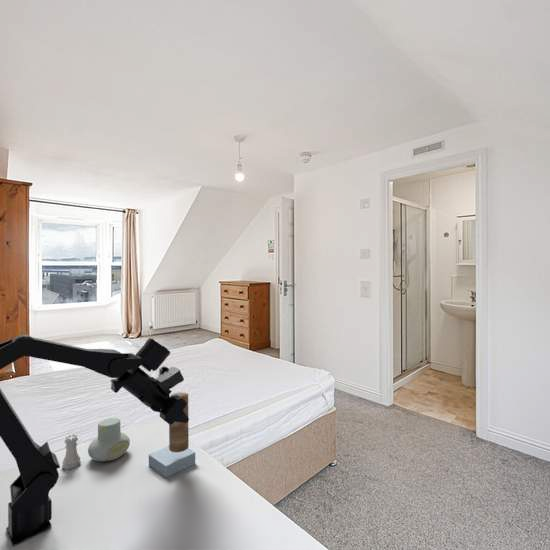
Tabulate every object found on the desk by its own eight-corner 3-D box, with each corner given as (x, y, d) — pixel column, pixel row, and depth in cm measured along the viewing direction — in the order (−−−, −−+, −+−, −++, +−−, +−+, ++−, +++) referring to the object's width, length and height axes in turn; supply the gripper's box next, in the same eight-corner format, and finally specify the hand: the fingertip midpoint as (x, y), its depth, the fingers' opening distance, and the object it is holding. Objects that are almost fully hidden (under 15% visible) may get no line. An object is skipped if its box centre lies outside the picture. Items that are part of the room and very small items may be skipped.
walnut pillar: (180, 453, 87) (180, 399, 87) (165, 450, 89) (165, 397, 89) (192, 445, 91) (192, 393, 91) (177, 441, 93) (177, 391, 93)
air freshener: (100, 469, 90) (99, 432, 90) (82, 461, 94) (82, 426, 95) (134, 451, 100) (134, 417, 100) (117, 444, 104) (117, 412, 104)
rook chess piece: (84, 461, 94) (84, 433, 94) (73, 470, 90) (73, 440, 90) (69, 460, 95) (69, 432, 95) (57, 469, 90) (57, 440, 90)
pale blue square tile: (166, 477, 86) (165, 466, 86) (148, 465, 92) (148, 454, 92) (195, 463, 93) (195, 452, 93) (177, 452, 99) (177, 442, 99)
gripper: (179, 366, 81) (219, 401, 87) (151, 353, 95) (187, 384, 102) (146, 407, 75) (191, 440, 82) (122, 387, 90) (162, 417, 97)
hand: (183, 417), depth 91 cm, fingers closed on walnut pillar, 5 cm apart
